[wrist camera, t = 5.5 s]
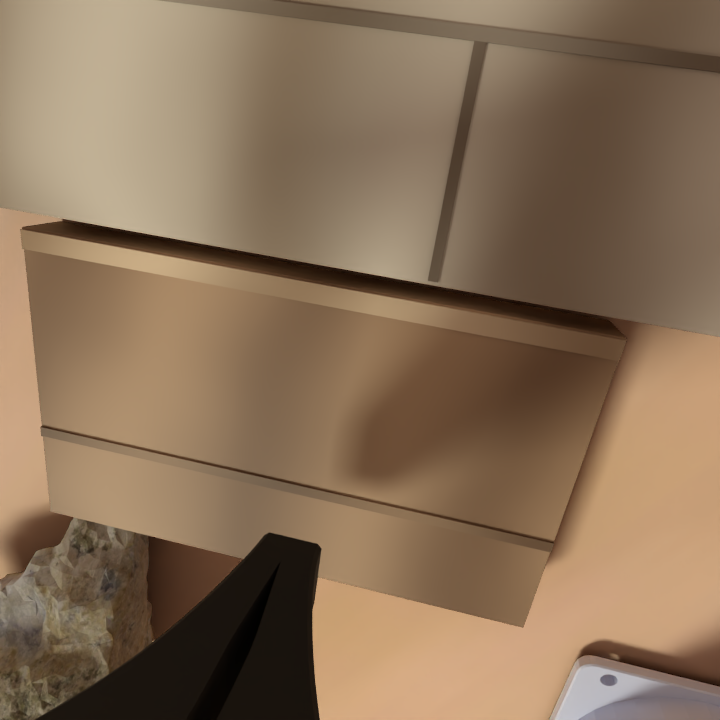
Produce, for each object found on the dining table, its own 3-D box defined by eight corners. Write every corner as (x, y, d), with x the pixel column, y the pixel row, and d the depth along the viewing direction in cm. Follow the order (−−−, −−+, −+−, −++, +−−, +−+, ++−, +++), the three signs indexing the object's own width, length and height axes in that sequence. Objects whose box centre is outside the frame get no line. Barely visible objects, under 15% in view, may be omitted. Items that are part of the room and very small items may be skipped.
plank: (609, 320, 13) (627, 339, 12) (517, 590, 16) (523, 629, 15) (60, 221, 15) (19, 227, 13) (79, 486, 18) (49, 512, 17)
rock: (111, 486, 17) (83, 915, 12) (228, 510, 22) (240, 818, 17) (-113, 557, 20) (-202, 913, 15) (34, 563, 25) (0, 832, 20)
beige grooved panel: (976, -248, 9) (1072, -320, 7) (722, 322, 13) (753, 343, 11) (-101, -317, 11) (-181, -382, 9) (-23, 190, 15) (-71, 195, 13)
